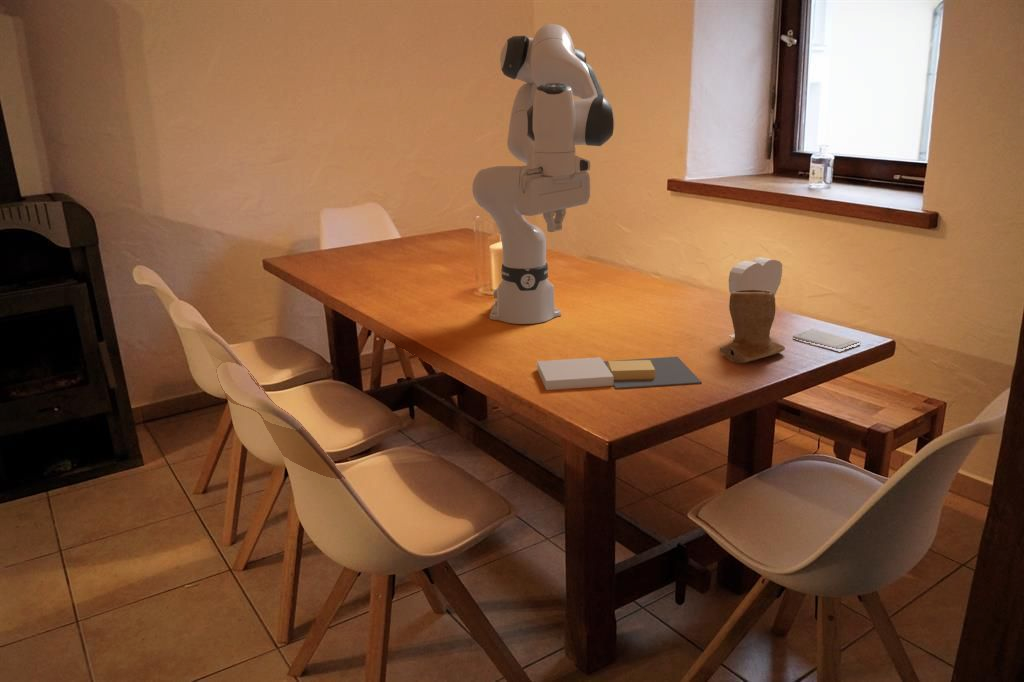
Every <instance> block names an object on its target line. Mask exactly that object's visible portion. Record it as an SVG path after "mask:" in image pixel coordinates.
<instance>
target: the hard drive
mask: <svg viewBox="0 0 1024 682" xmlns="http://www.w3.org/2000/svg"><path fill="white" fill-rule="evenodd" d="M793 338H795V339H798V340H802V341H806V342H811V343H815V344H820V345H824V346H828V347H832V348H836V349H843V348H846V347H848V346H851V345H854V344H857V343H859V342H860V341H858V340H855V339H851V338H848V337H844V336H841V335H837V334H832V333H828V332H825V331H821V330H818V329H814V328H812V329H809V330H808V329H807V330H805V331H802V332H800V333H797V334H794V335H792V339H793Z"/></svg>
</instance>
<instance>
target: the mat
mask: <svg viewBox="0 0 1024 682" xmlns="http://www.w3.org/2000/svg"><path fill="white" fill-rule="evenodd" d="M633 360H650V361H651V363H652V365H653V366H654V368H655V379H628V380H614V386H613V388H614V389H615V390H625V389H626V390H627V389H635V388H636V389H639V388H650V387H651V388H652V387H653V388H654V387H655V388H656V387H668V386H669V387H670V386H681V385H684V386H685V385H697V384H698V385H699V384H702V383H703V382H702V381H701V380H700V379H699V378H698V377H697V375H696V374H695V373H694V372H692V370H691V369H690V368H689V367H688V366H687V365H686V363H684V362H683V361H682V360H681V359H680V357H679V356H667V357H666V356H665V357H664V356H663V357H651V358H648V357H647V358H636V359H635V358H634V359H633V358H632V359H619V360H614V361H633ZM603 361H604V363H605V364H606V366H607V367H608V361H609V360H603Z"/></svg>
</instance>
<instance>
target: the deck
mask: <svg viewBox="0 0 1024 682" xmlns="http://www.w3.org/2000/svg"><path fill="white" fill-rule="evenodd" d="M604 361H605V360H603V359H602V357H601V356H600V357H599V356H598V357H586V358H582V357H581V358H568V359H567V358H566V359H552V360H537V361H536V362H537V363H536V367H537V368H536V370H537V371H538V375H539V377H540V380H541V381H542V384H543V386H544V388H545V390H546V391H550V390H551V391H552V390H566V389H567V390H568V389H582V388H598V387H600V388H601V387H614V376H613V375H612V373H611V372H610V370H609V369H608V367H607V366H606V364H605V363H604Z"/></svg>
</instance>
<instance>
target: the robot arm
mask: <svg viewBox="0 0 1024 682" xmlns="http://www.w3.org/2000/svg"><path fill="white" fill-rule="evenodd" d="M499 61H500V66H501V71H502V73H503V75H504V76H505V77H507V78H509V79H512V80H518V81H520V82H524V83H523V84H522V85H521V86H520V87H519V88H518V90H517V92H516V95H515V98H514V101H513V104H512V108H511V114H510V121H509V125H508V135H507V141H506V143H507V145H506V146H507V148H508V151H509V152H510V153H511V155H512V156H513V157H514V158H516V159H517V160H519V161H520V162H522V163H524V164H526V165H507V166H506V165H497V166H492V167H487V168H481V169H480V170H479V171H478V172H477V174H476V175H475V176H474V179H473V181H472V186H471V187H472V196H473V198H474V201H475V202H476V203H477V205H478V206H479V207H481V208H482V209H484V211H486V212H487V214H489V215H490V217H491V218H492V220H493V221H494V222H495V224H496V226H497V228H498V230H499V233H500V238H501V245H502V247H501V248H502V261H503V262H502V264H501V270H500V274H501V279H502V280H501V281H500V284H499V285H498V287H497V288H496V289H493V298H494V299H496V300H495V301H494V302H493V304H492V308H491V309H490V310H491V311H490V313H489V319H490V320H495V321H501V322H504V323H509V324H513V325H514V324H516V325H528V324H529V325H533V324H541V323H544V322H548V321H550V320H551V319H553V318H557V317H560V316H562V311H561V310H560V309H558V308H557V307H556V306H555V288H554V287H555V286H554V284H552V282H551V281H549V279H548V277H549V268H548V267H549V265H548V263H547V239H546V238H547V237H546V234H545V233H544V231H543V230H542V229H541V228H540V227H538V226H537V225H535V224H532V223H531V222H529V221H528V220H527V219H526V218H525V217H526V216H528V217H533V216H537V215H538V216H539V215H542V217H543V218H544V221H545V223H546V227H547V228H546V231H547V232H548V233H555V232H559V231H562V230H563V222H564V219H565V216H566V215H567V211H566V210H567V209H570V208H574V207H579V206H583V205H587V204H588V202H589V200H590V197H591V177H590V173H589V172H588V171H590V170H591V161H590V160H588V159H585V158H583V157H580V156H578V155H576V146H590V147H591V146H593V147H602V146H603V145H604V144H606V142H608V141H609V140H610V139H611V137H612V136H613V134H614V129H615V114H614V113H615V112H614V110H613V107H612V104H611V103H610V102H609V100H608V99H607V98H606V96H605V94H604V91H603V89H602V87H601V84H600V82H599V80H598V77H597V75H596V73H595V71H594V69H593V68H592V66H591V65H590V64H588V63H587V57H586V54H585V52H584V51H582V50H581V49H579V48H576V47H575V44H574V41H573V38H572V37H571V34H570V33H569V31H568V30H567V28H565V27H564V26H562V25H560V24H557V23H548V24H546V25H543V26H541V27H540V28H539V29H538V30H537V31H536V33H535V34H534V36H533V37H529V36H526V35H513V36H511V37H509V38H508V39H506V42H505V43H504V45H503V46H502V49H501V51H500V57H499ZM575 97H577V98H575ZM524 216H525V217H524Z"/></svg>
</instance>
